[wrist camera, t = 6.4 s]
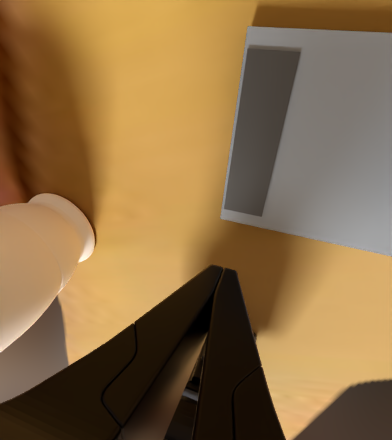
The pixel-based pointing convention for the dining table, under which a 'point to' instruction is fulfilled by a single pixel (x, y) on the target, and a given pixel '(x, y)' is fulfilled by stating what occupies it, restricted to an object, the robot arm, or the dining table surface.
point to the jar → (37, 258)
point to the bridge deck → (314, 137)
